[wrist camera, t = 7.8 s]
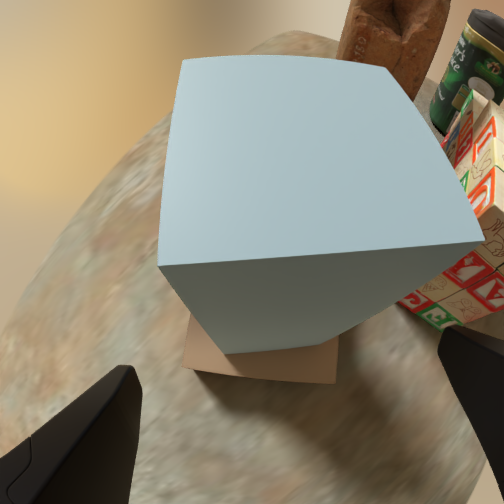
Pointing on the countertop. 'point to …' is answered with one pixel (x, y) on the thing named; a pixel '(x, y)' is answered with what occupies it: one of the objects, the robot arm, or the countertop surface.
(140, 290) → the countertop surface
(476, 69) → the coffee jar
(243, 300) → the blue brick
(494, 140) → the stack of blocks
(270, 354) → the walnut base
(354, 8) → the block
